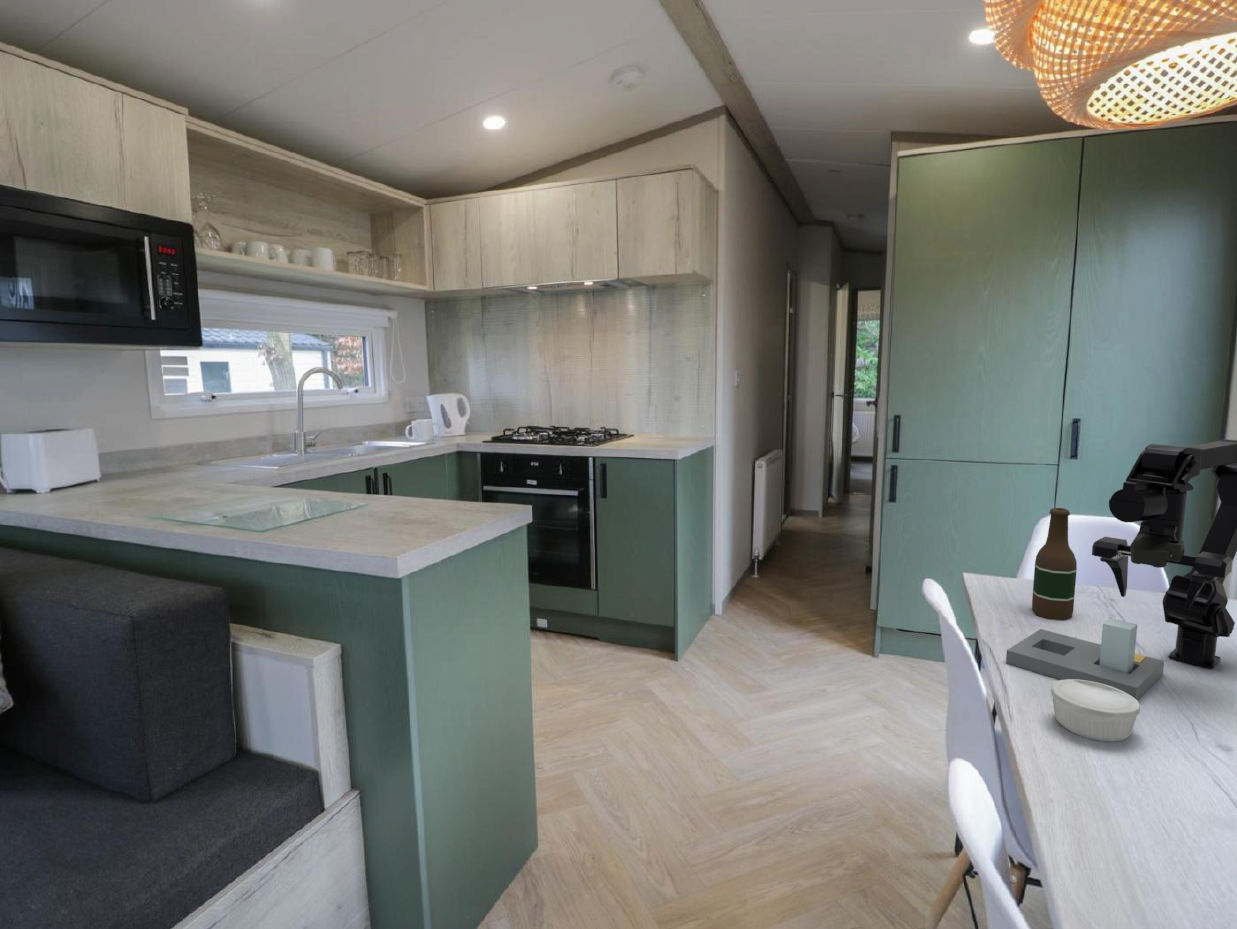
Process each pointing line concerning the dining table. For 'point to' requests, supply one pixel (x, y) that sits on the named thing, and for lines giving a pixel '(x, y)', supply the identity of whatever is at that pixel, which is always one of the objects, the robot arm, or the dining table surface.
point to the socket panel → (1081, 662)
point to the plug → (1118, 645)
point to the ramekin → (1094, 709)
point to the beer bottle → (1055, 571)
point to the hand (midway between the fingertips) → (1154, 602)
